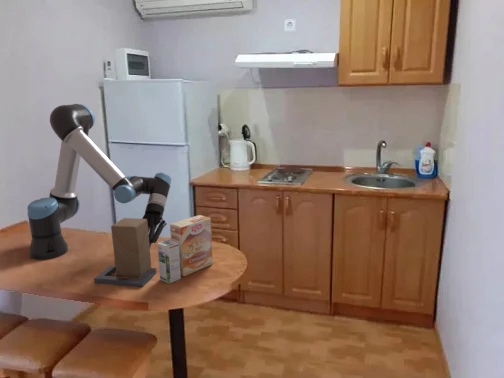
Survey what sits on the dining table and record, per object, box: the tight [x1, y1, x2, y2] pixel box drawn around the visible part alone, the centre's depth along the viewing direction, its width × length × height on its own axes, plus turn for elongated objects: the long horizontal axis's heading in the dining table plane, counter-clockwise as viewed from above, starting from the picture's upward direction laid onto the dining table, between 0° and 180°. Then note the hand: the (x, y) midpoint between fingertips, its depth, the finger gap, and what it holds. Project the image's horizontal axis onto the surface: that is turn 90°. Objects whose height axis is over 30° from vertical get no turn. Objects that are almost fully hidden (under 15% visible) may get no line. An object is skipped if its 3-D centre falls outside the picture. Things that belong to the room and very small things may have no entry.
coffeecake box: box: [169, 214, 213, 277], centre depth 162 cm, size 15×7×20 cm, turn 137°
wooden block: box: [110, 217, 152, 278], centre depth 160 cm, size 10×10×20 cm
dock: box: [93, 264, 157, 288], centre depth 157 cm, size 19×12×2 cm, turn 78°
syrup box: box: [157, 238, 182, 285], centre depth 153 cm, size 6×6×14 cm
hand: (142, 258), depth 168 cm, fingers closed
